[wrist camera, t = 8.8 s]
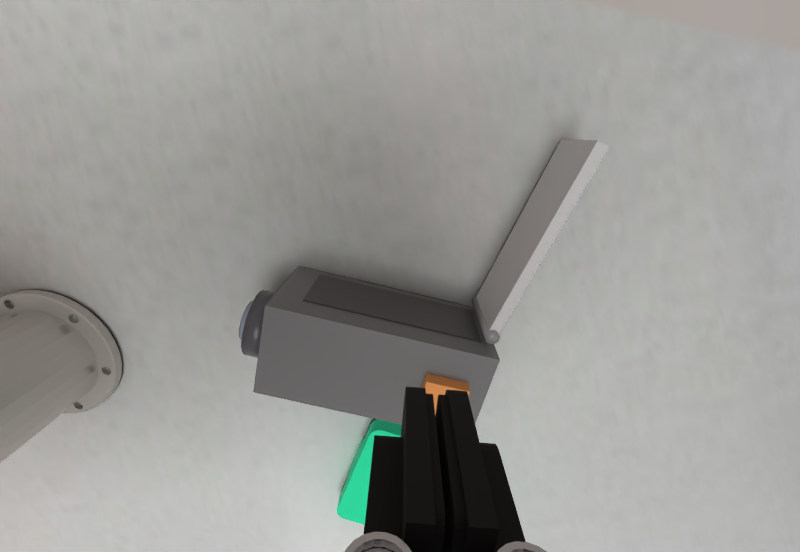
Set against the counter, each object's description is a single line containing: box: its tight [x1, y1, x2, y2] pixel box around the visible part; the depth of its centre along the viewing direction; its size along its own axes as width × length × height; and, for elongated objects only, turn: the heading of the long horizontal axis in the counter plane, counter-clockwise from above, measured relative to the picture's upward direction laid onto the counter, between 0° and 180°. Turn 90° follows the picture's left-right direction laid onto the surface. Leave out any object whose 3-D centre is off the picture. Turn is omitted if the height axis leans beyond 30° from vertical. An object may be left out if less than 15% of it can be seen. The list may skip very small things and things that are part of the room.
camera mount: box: [337, 419, 402, 525], centre depth 36 cm, size 12×8×10 cm, turn 160°
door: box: [472, 139, 609, 344], centre depth 28 cm, size 14×1×6 cm, turn 157°
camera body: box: [239, 266, 500, 425], centre depth 30 cm, size 18×7×9 cm, turn 76°
